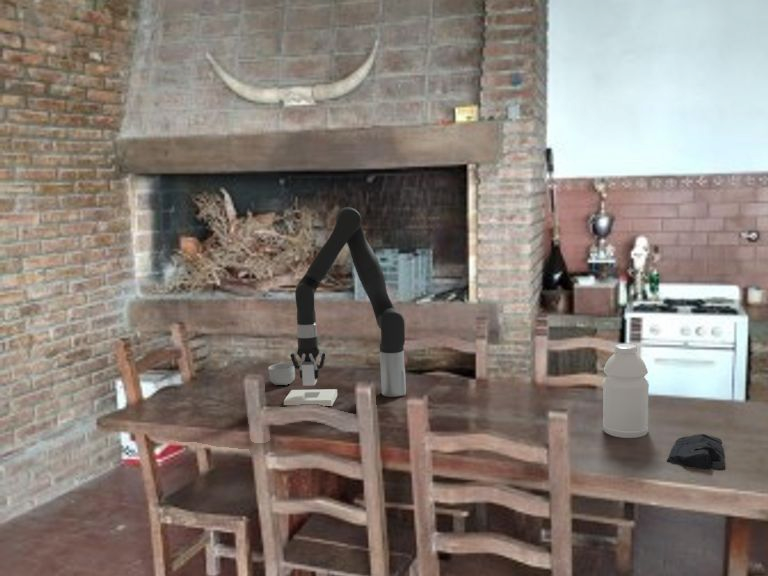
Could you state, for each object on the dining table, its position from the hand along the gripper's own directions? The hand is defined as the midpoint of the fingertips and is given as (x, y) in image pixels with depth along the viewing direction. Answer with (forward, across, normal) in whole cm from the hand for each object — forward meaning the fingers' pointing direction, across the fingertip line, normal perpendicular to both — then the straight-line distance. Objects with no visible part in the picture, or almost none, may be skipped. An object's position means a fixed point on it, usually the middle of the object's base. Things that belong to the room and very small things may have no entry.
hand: (309, 378), depth 286 cm
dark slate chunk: (+9, -125, +57) cm, 138 cm away
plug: (+2, 0, 0) cm, 2 cm away
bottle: (+8, -109, +37) cm, 116 cm away
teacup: (+9, +17, -26) cm, 32 cm away
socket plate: (+9, 0, 0) cm, 9 cm away
